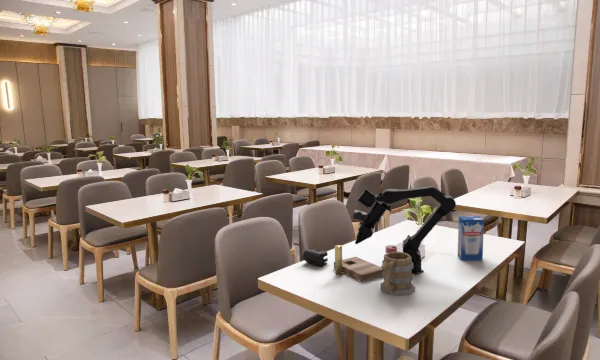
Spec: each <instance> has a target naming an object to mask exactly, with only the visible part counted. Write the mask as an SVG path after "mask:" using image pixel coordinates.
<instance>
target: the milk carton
mask: <svg viewBox="0 0 600 360" xmlns="http://www.w3.org/2000/svg"><path fill="white" fill-rule="evenodd" d="M484 225H485V219H484V218H482V217H481V216H480V215H479V216H473V215H471V216H468V215H467V216H458V230H457V231H458V234H457V235H458V236H457V257H458V259H459V260H460V261H463V262H464V261H470V262H471V261H473V262H474V261H476V262H477V261H481V262H482V261H483V257H484V255H483V253H484V229H485V228H484V227H485V226H484Z"/></svg>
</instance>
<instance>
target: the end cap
mask: <svg viewBox="0 0 600 360" xmlns="http://www.w3.org/2000/svg"><path fill="white" fill-rule="evenodd" d="M325 257H326V258H325ZM302 258H303V260H304V261H305V262H306V263H308V264H312V265H314V266H319V267H324V266H326V264H327V265H328V262H329V261H328V260H329V259H328V251H326V250H321V251H319V249H317V248H311V249H308V248H306V249H305V250H304V252H303V255H302Z"/></svg>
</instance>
